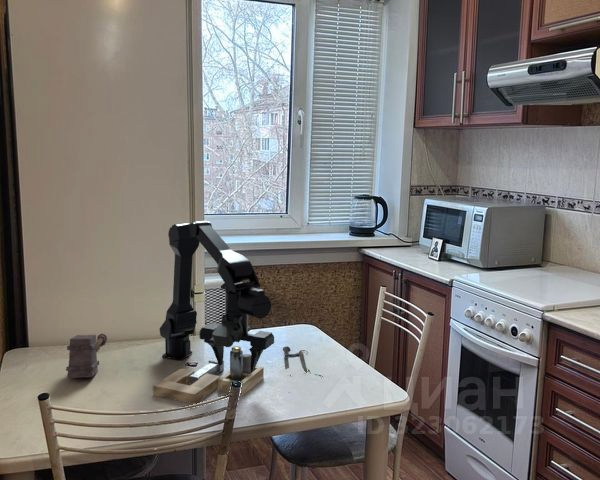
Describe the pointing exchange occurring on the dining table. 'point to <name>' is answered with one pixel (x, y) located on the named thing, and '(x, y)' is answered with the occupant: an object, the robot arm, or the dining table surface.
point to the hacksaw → (286, 355)
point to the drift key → (207, 370)
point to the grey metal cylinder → (236, 364)
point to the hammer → (84, 355)
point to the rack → (248, 377)
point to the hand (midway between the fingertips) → (236, 368)
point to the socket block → (186, 386)
